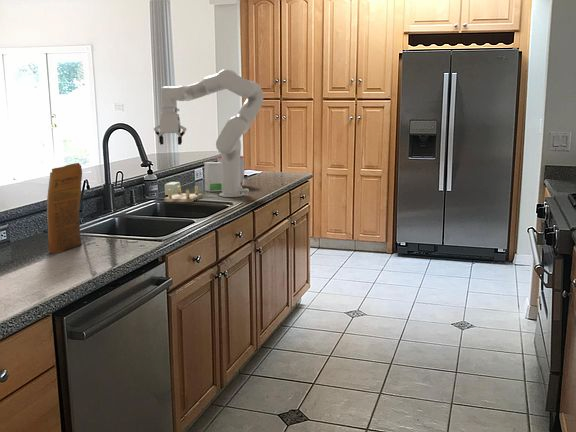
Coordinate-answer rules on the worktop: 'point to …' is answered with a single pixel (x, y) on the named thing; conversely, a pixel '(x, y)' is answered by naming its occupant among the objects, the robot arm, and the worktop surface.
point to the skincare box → (213, 176)
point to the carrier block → (172, 187)
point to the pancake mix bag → (64, 208)
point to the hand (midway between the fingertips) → (170, 144)
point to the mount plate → (182, 196)
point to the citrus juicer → (240, 167)
